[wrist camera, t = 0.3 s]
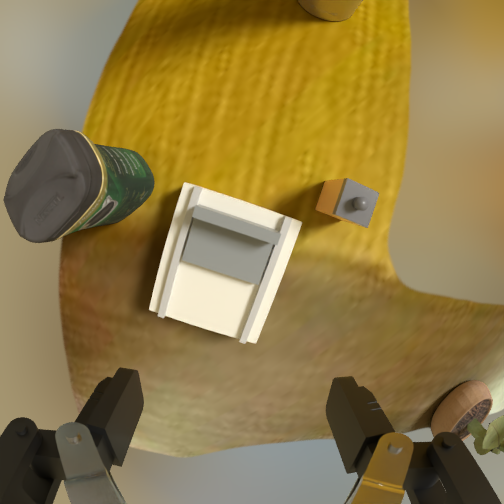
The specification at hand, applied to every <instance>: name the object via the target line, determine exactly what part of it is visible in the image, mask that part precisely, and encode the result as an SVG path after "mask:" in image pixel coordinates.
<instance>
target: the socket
mask: <svg viewBox="0 0 504 504" xmlns="http://www.w3.org/2000/svg"><path fill="white" fill-rule="evenodd" d="M199 204H200V205H203V206H206V207H209V208H212V209H215V210H218V211H222V212H225V213H228V214H231V215H234V216H237V217H240V218H242V219H245V220H248V221H251V222H254V223H257V224H260V225H263V226H266V227H269V228H272V229H275V230H277V231H278V232H279V233H280V234H281V236H280V239H279V242H278V245H274V244H273V246H272V249H271V252H270V255H269V257H268V260H267V263H266V266H265V268H264V271H263V274H262V277H261V279H260V282H259V285H257V284H254V283H250V282H247V281H244V280H241V279H238V278H235V277H232V276H229V275H225V274H222V273H219V272H216V271H213V270H210V269H207V268H204V267H201V266H198V265H195V264H192V263H189V262H186V261H183V260H182V257H183V254H184V251H185V247H186V244H187V240H188V237H189V234H190V231H191V227H192V224H193V221H194V218H193V217H192V215H193V212H194V209H195V206H196V205H199ZM301 225H302V222H301V221H299V220H296V219H294V218H291V217H288V216H285V215H283V214H280V213H277V212H274V211H271V210H268V209H266V208H263V207H260V206H257V205H254V204H251V203H248V202H245V201H242V200H239V199H236V198H233V197H230V196H227V195H224V194H221V193H218V192H215V191H212V190H209V189H206V188H203V187H200V186H196V185H193V184H190V183H185V182H184V184H183V188H182V191H181V194H180V197H179V200H178V203H177V206H176V210H175V213H174V216H173V219H172V223H171V226H170V230H169V233H168V236H167V240H166V244H165V247H164V251H163V254H162V258H161V262H160V266H159V270H158V274H157V278H156V282H155V286H154V290H153V294H152V298H151V303H150V307H149V310H151V311H154V312H156V313H158V316H159V317H161V318H164V317H165V316H168V317H171V318H173V319H176V320H179V321H182V322H185V323H188V324H191V325H195V326H198V327H201V328H204V329H207V330H210V331H214V332H217V333H220V334H224V335H227V336H231V337H234V338H237V339H239V342H241V343H244V344H246V341H248V342H252V343H256V342H257V339H258V337H259V334H260V332H261V330H262V327H263V325H264V322H265V320H266V317H267V315H268V312H269V310H270V307H271V304H272V302H273V299H274V297H275V294H276V292H277V289H278V287H279V284H280V281H281V279H282V276H283V274H284V271H285V268H286V266H287V263H288V260H289V258H290V255H291V252H292V250H293V247H294V244H295V242H296V239H297V236H298V233H299V231H300V228H301Z"/></svg>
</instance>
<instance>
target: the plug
mask: <svg viewBox="0 0 504 504" xmlns="http://www.w3.org/2000/svg"><path fill="white" fill-rule="evenodd" d="M378 196H379V193H378V192H376V191H374V190H372V189H370V188H368V187H366V186H363V185H361V184H359V183H357V182H355V181H353V180H350V179H348V178H346V179H337V180H329V181H325V183H324V185H323V188H322V191H321V194H320V197H319V200H318V203H317V206H316V208H315V210H317V211H319V212H322V213H324V214H327V215H330V216H332V217H335V218H337V219H340V220H342V221H346V222H349V223H352V224H356V225H359V226H363V227H366V228H368V225H369V222H370V219H371V217H372V214H373V211H374V208H375V205H376V202H377V199H378Z"/></svg>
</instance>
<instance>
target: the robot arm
mask: <svg viewBox="0 0 504 504" xmlns="http://www.w3.org/2000/svg"><path fill="white" fill-rule="evenodd" d="M298 2H299V4H300V5H301V6H302V7H303V8H304V9H305V10H306V11H307V12H309V13H310V14H312V15H314V16H316V17H318V18H321V19H324V20H329V21H343V20H346V19H348V18H349V17H351V15H352V14H353V13H354V11H355V10H356V9H357V7H358V6H359V4H360V3H361V2H362V0H298ZM143 405H144V399H143V393H142V388H141V383H140V378H139V373H138V371H137V370H133V369H127V368H119V369H118V370H117V372H116V373H115V375H114V377H113V378H111V377H107V378H105V379H104V380H103V381H101V382H100V383H99V384H98V385H97V387H96V388H95V390H94V393H92V395H91V396H90V399H88V401H87V403H86V404H85V406H84V407H83V409H82V411H81V412H80V414H79V416H78V417H77V419H76V421H75V422H69V423H66V424H63V425H62V426H60V427H59V428H58V429H57V431H53V430H42V429H38V428H37V426H36V424H35V423H34V422H33V421H32V420H31V419H29V418H24V417H21V418H16V419H14V420H12V421H11V422H10V423H9V424H8V426H7V427H6V429H5V430H4V432H3V433H2V435H1V436H0V504H53V501H54V499H55V496H56V493H57V491H58V488H59V486H60V483H61V481H62V480H64V484H65V488H66V491H67V494H68V497H69V500H70V502H71V504H127V503H126V502H125V500H124V498H123V496H122V494H121V492H120V491H119V489H118V487H117V485H116V483H115V481H114V479H113V477H112V475H111V473H110V468H111V466H112V464H113V465H117V466H122V464H123V461H124V458H125V456H126V453H127V450H128V448H129V445H130V442H131V439H132V437H133V434H134V431H135V429H136V426H137V424H138V421H139V418H140V416H141V413H142V410H143ZM326 416H327V419H328V422H329V425H330V427H331V430H332V433H333V436H334V439H335V441H336V444H337V447H338V449H339V452H340V455H341V458H342V461H343V463H344V466H345V469H346V472H347V473H354V472H357V474H358V478H357V480H356V482H355V484H354V486H353V488H352V490H351V491H350V493H349V495H348V497H347V499H346V500H345V502H344V504H401V503H402V500H403V497H404V494H405V490H406V492H407V494H408V497H409V499H410V501H411V504H501V502H500V500H499V499H498V497H497V495H496V493H495V492H494V490H493V488H492V487H491V485H490V483H489V482H488V480H487V478H486V477H485V475H484V473H483V472H482V470H481V469H480V467H479V466H478V464H477V462H476V461H475V459H474V458H473V456H472V455H471V453H470V452H469V450H468V449H467V447H466V446H465V444H464V443H463V441H462V440H461V438H460V437H459V436H458V435H456V434H454V433H452V432H441V433H438V434H437V435H436V436H435V437H434V438H433V440H432V442H412V440H411V439H410V438H409V437H407V436H406V435H404V434H402V433H397V432H395V431H394V429H393V427H392V425H391V424H390V422H389V420H388V419H387V417H386V415H385V414H384V412H383V410H382V409H381V407H380V405H379V404H378V403H377V400H376V399H375V397H374V395H373V394H372V393H371V392H370V391H369V390H368V389H366V388H365V387H364V386H362V387H358V385H357V383H356V381H355V380H354V378H353V377H352V376H349V377H337V378H334V379H333V382H332V385H331V389H330V393H329V397H328V400H327V404H326ZM440 480H441V481H440ZM441 482H442V483H441ZM442 484H443V485H442ZM443 486H444V487H443ZM444 488H445V489H444ZM445 490H446V491H445Z"/></svg>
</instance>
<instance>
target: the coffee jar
mask: <svg viewBox="0 0 504 504" xmlns="http://www.w3.org/2000/svg"><path fill="white" fill-rule="evenodd" d="M153 188H154V177H153V174H152V172H151V170H150V168H149V167H148V165H147V163H146V162H145V160H144V159H143V158H142V157H141V156H140V155H139V154H138V153H137V152H135V151H132V150H128V149H124V148H116V147H109V146H103V145H97V144H94V143H93V142H92V141H91V140H90V139H89V138H88V137H87V136H86V135H84V134H83V133H81V132H78V131H73V130H63V129H53V130H50V131H48V132H46V133H44V134H43V135H42V136H41V137H40V138H39V139H38V140H37V141H36V142H35V143H34V145H32V147H31V148H30V149H29V150H28V151H27V153H26V154H25V155H24V156H23V158H22V159H21V161H20V162H19V163H18V165H17V166H16V168H15V169H14V171H13V172H12V175H11V177H10V179H9V181H8V184H7V188H6V192H5V196H4V203H5V206H6V209H7V212H8V214H9V216H10V219H11V221H12V223H13V225H14V227H15V229H16V230H17V232H18V233H19V235H20V236H21V237H23V238H24V239H26V240H28V241H30V242H35V243H42V242H50V241H54V240H57V239H59V238H62V237H64V236H66V235H68V234H70V233H73V232H75V231H78V230H82V229H86V228H91V227H96V226H102V225H108V224H113V223H117V222H119V221H121V220H122V219H124V218H125V217H127V216H128V215H130V214H131V213H132V212H134V211H135V210H136V209H137V208H138V207H140V206H141V205H142V204H143V203H144V202H145V201H146V200H147V199H148V197H149V196H150V195H151V193H152V191H153Z"/></svg>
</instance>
